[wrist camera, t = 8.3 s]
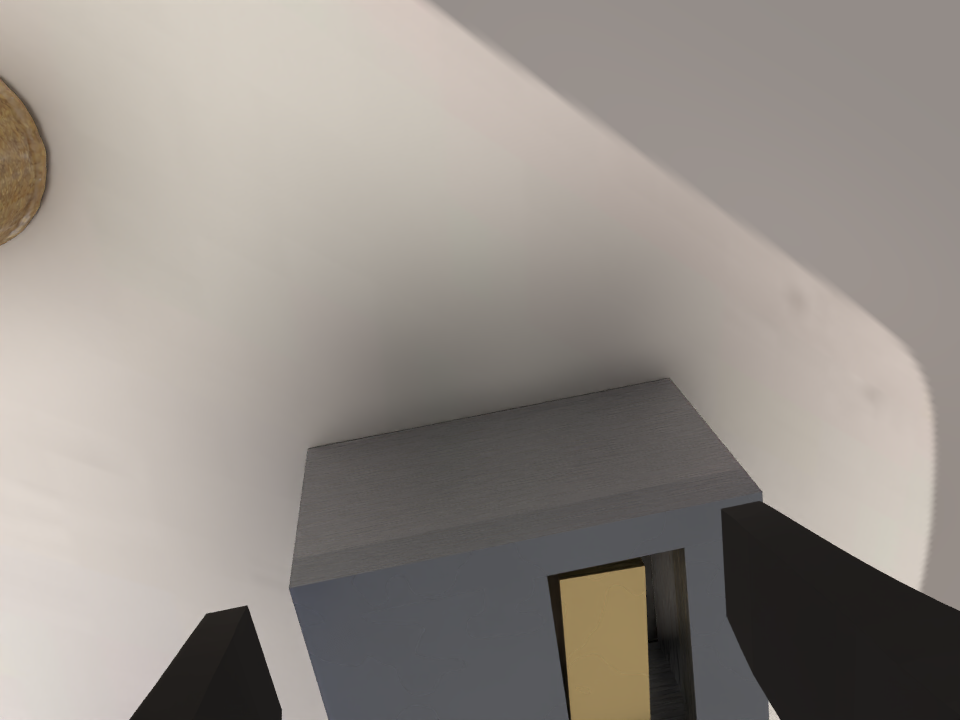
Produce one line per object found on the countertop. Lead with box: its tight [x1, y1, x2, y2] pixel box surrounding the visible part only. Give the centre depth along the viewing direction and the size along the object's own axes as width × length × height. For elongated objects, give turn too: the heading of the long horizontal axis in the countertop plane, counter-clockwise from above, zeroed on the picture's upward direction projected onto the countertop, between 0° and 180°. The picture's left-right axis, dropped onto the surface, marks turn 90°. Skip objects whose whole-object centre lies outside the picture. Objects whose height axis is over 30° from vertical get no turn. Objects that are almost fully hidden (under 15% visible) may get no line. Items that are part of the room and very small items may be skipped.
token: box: [547, 557, 650, 720], centre depth 23 cm, size 5×2×5 cm, turn 6°
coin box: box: [289, 378, 769, 720], centre depth 22 cm, size 10×10×6 cm
